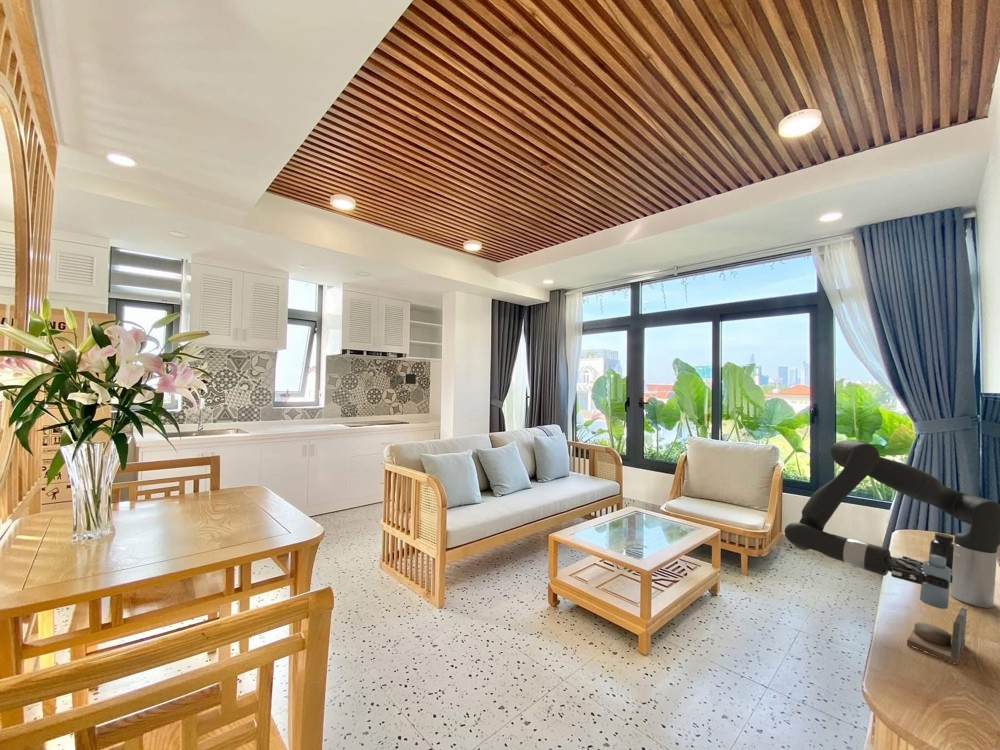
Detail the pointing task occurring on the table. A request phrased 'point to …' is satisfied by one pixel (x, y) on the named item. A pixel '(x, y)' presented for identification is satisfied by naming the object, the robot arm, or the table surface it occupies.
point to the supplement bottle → (943, 547)
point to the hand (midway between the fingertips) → (950, 581)
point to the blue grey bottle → (931, 592)
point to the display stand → (940, 639)
